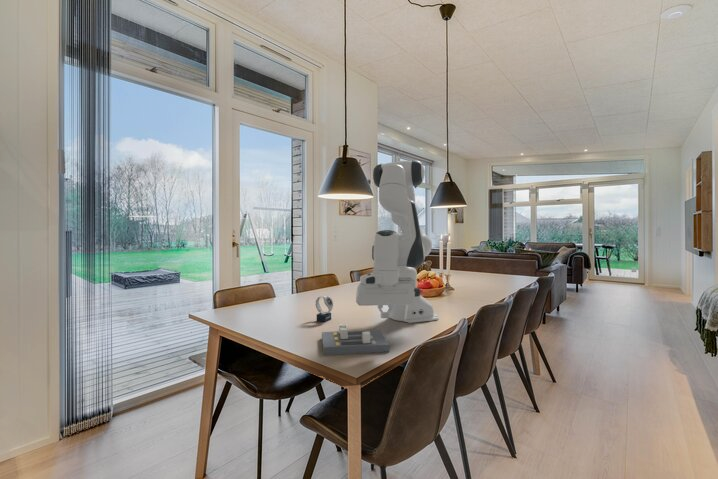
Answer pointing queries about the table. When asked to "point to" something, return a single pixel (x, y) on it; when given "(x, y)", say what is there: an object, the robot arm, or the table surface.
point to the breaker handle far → (341, 326)
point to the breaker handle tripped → (365, 337)
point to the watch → (322, 315)
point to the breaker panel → (353, 343)
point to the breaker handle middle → (343, 333)
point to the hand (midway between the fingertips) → (385, 317)
